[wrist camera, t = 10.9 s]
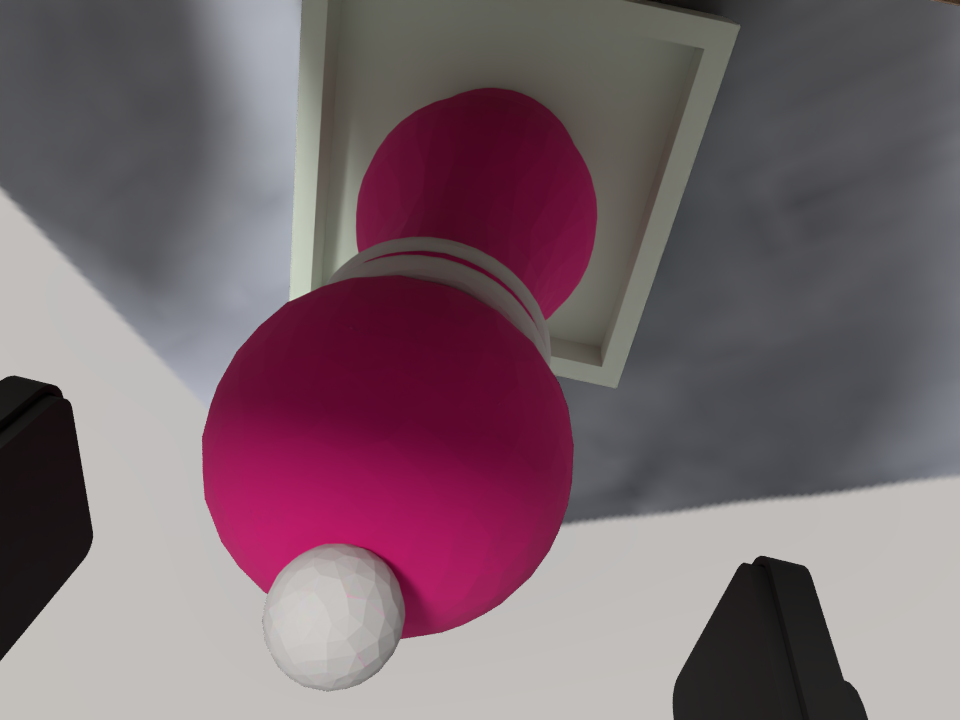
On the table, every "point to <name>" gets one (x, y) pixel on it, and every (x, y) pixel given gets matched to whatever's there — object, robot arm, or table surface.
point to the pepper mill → (410, 396)
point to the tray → (549, 80)
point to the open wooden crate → (949, 1)
